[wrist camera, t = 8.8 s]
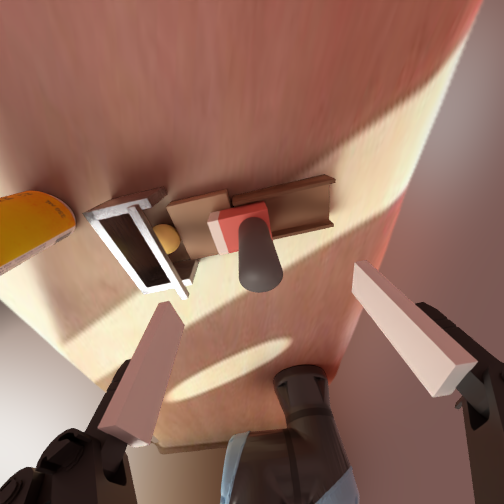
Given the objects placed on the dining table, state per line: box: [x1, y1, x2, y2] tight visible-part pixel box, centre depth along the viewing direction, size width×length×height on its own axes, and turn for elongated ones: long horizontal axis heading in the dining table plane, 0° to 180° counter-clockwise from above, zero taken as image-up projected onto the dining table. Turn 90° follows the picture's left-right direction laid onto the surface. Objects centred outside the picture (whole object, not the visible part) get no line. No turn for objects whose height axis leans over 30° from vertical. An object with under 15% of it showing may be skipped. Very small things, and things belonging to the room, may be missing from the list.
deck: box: [166, 189, 232, 260], centre depth 25 cm, size 8×8×2 cm
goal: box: [82, 187, 199, 300], centre depth 23 cm, size 12×7×8 cm, turn 12°
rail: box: [232, 174, 335, 240], centre depth 24 cm, size 6×12×3 cm, turn 102°
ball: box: [153, 224, 181, 254], centre depth 24 cm, size 4×4×4 cm
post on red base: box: [207, 201, 283, 293], centre depth 19 cm, size 4×7×11 cm, turn 102°
